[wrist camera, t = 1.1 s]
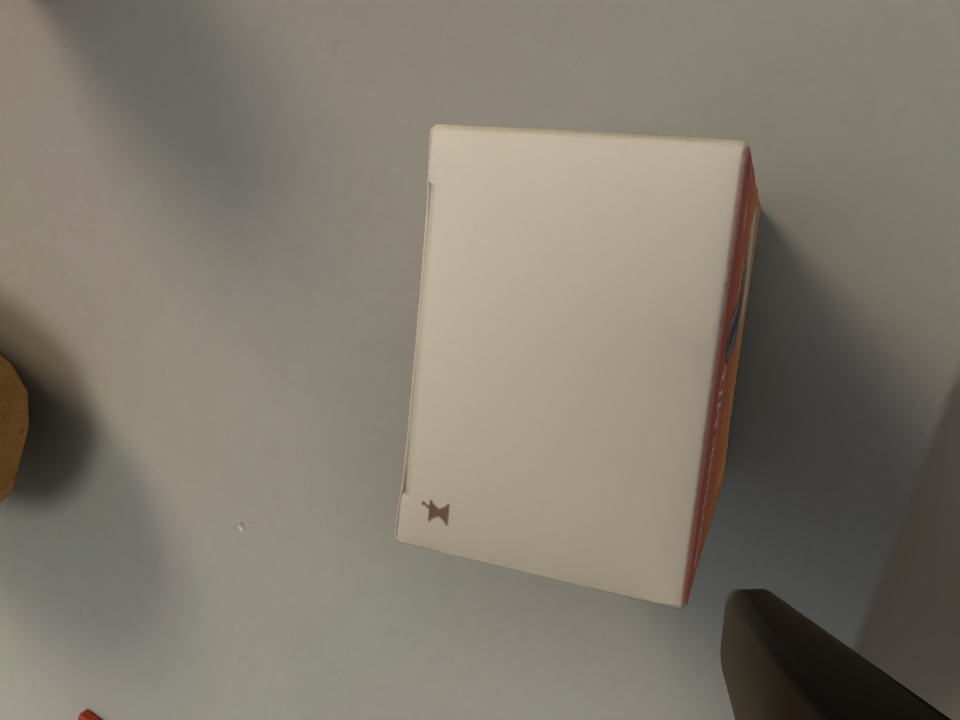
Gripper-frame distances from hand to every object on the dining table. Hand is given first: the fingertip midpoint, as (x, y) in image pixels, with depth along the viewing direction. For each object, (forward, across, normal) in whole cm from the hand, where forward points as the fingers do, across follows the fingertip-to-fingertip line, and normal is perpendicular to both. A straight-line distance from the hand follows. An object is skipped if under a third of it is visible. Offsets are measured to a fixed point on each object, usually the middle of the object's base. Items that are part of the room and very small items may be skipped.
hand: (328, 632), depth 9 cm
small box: (+15, -7, +2) cm, 17 cm away
